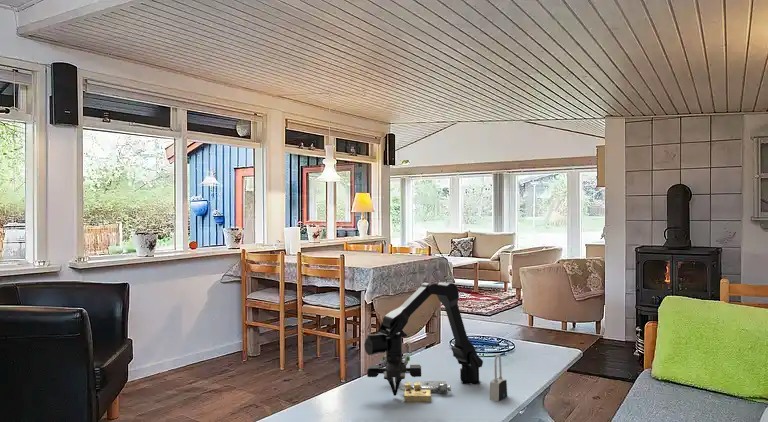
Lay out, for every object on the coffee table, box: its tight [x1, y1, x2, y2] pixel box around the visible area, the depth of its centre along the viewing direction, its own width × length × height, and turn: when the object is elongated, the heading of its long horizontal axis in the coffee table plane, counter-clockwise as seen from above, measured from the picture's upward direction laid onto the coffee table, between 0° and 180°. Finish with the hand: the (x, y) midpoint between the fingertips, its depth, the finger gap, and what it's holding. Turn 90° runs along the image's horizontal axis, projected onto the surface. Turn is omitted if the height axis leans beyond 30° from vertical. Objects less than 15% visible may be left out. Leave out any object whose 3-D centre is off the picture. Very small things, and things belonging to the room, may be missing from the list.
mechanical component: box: [382, 354, 411, 383], centre depth 221 cm, size 3×10×10 cm, turn 79°
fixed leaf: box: [400, 380, 452, 394], centre depth 210 cm, size 18×10×4 cm, turn 87°
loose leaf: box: [403, 381, 432, 403], centre depth 203 cm, size 9×10×4 cm
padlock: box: [489, 354, 508, 402], centre depth 200 cm, size 7×4×15 cm, turn 141°
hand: (395, 395), depth 202 cm, fingers closed
